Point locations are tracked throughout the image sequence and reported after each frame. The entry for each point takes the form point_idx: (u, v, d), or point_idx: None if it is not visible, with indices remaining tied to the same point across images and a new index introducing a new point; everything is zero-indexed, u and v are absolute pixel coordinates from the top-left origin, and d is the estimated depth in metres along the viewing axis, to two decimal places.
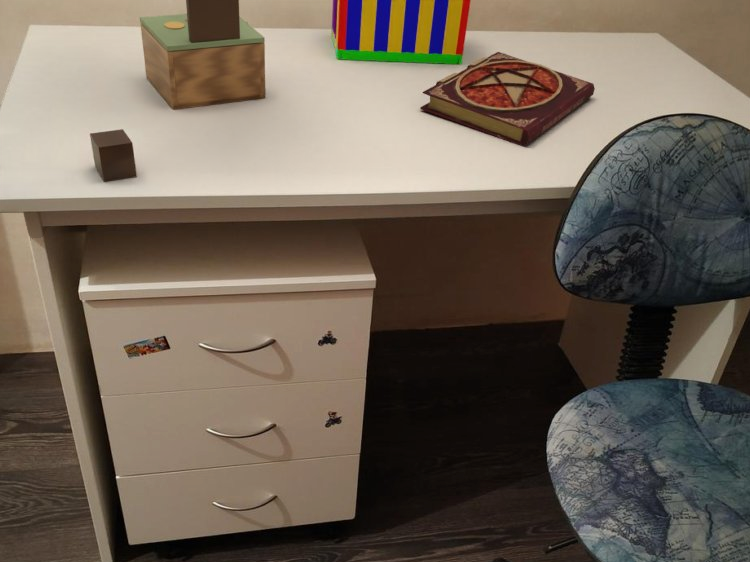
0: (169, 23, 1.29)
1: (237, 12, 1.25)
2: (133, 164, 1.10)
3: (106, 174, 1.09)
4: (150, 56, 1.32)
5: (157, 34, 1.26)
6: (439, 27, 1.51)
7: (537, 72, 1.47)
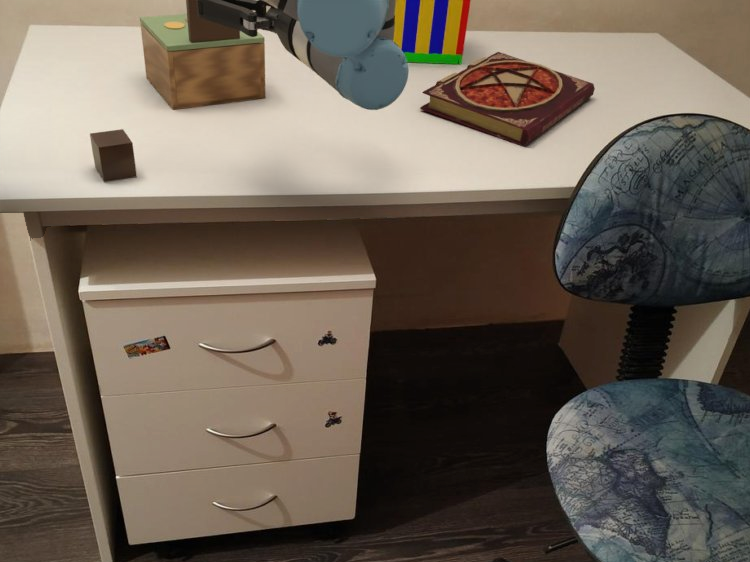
0: (169, 23, 1.29)
1: None
2: (133, 164, 1.10)
3: (106, 174, 1.09)
4: (150, 56, 1.32)
5: (157, 34, 1.26)
6: (439, 27, 1.51)
7: (537, 72, 1.46)
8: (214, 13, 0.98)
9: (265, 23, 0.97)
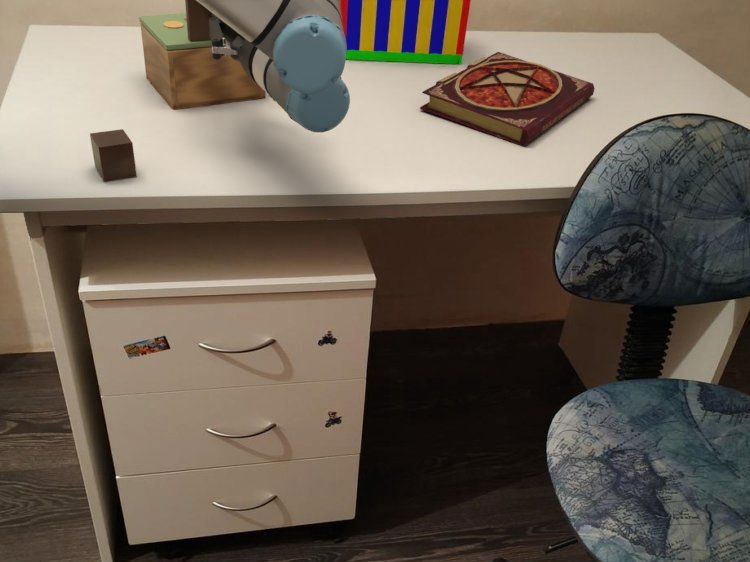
0: (168, 22, 1.30)
1: None
2: (133, 164, 1.10)
3: (106, 174, 1.09)
4: (150, 56, 1.32)
5: (156, 33, 1.26)
6: (439, 27, 1.51)
7: (537, 72, 1.46)
8: (211, 34, 1.15)
9: (226, 50, 1.10)
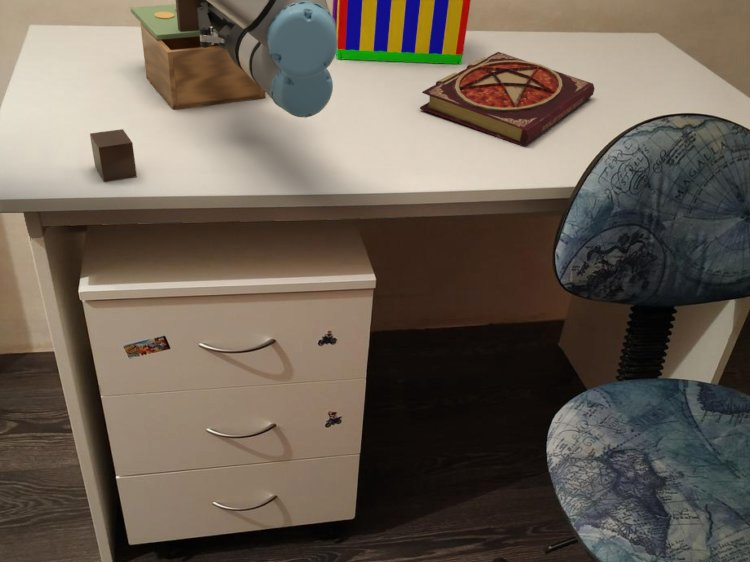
0: (159, 13, 1.33)
1: None
2: (133, 164, 1.10)
3: (106, 174, 1.09)
4: (150, 56, 1.32)
5: (147, 23, 1.29)
6: (439, 27, 1.51)
7: (537, 72, 1.46)
8: (199, 24, 1.18)
9: (214, 38, 1.13)
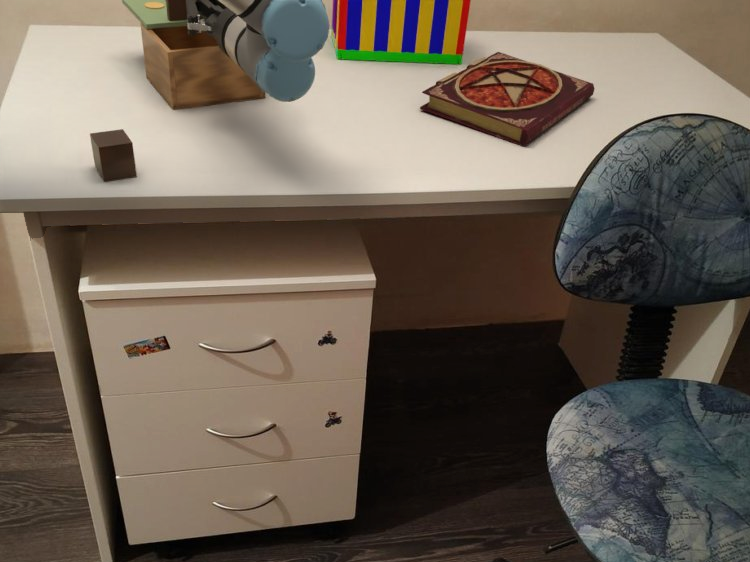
0: (149, 3, 1.36)
1: None
2: (133, 164, 1.10)
3: (106, 174, 1.09)
4: (150, 56, 1.32)
5: (137, 13, 1.32)
6: (439, 27, 1.51)
7: (537, 72, 1.46)
8: (187, 12, 1.21)
9: (201, 26, 1.16)
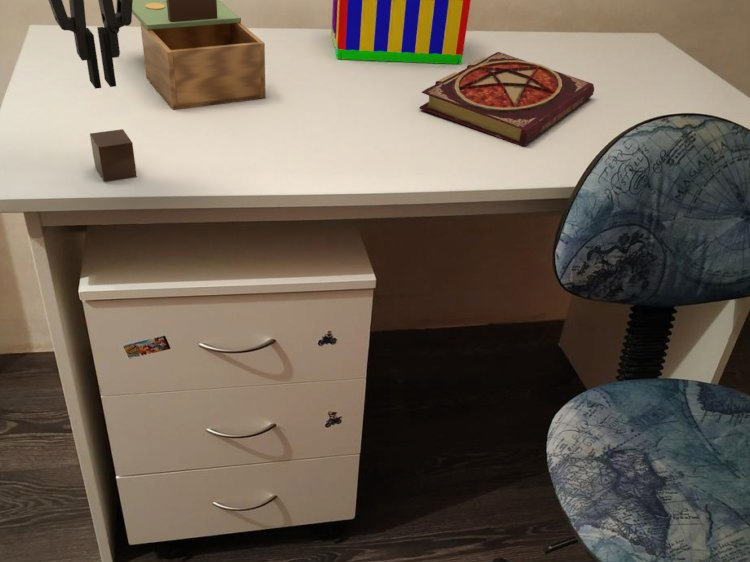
0: (150, 4, 1.36)
1: None
2: (133, 164, 1.10)
3: (106, 174, 1.09)
4: (150, 56, 1.32)
5: (138, 14, 1.32)
6: (439, 27, 1.51)
7: (537, 72, 1.46)
8: (50, 1, 0.95)
9: None
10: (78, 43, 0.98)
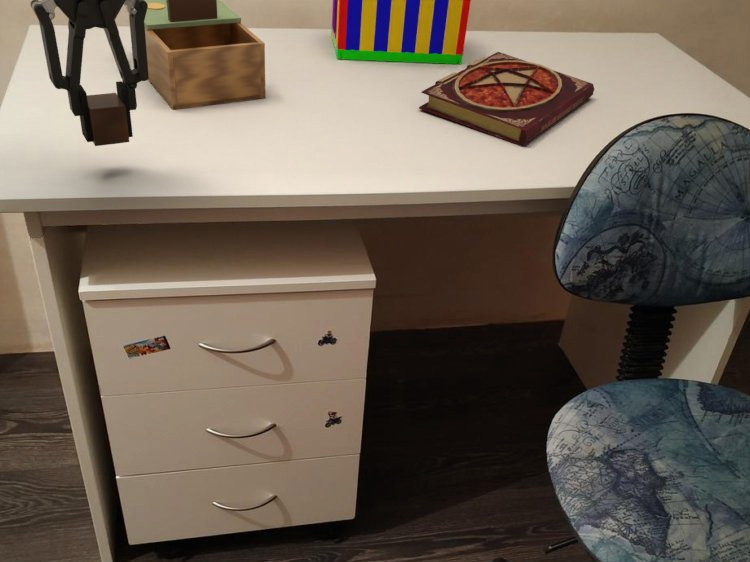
0: (150, 4, 1.36)
1: None
2: (126, 129, 1.06)
3: (98, 138, 1.05)
4: (150, 56, 1.32)
5: None
6: (439, 27, 1.51)
7: (537, 72, 1.46)
8: (47, 60, 0.98)
9: None
10: (71, 100, 1.02)
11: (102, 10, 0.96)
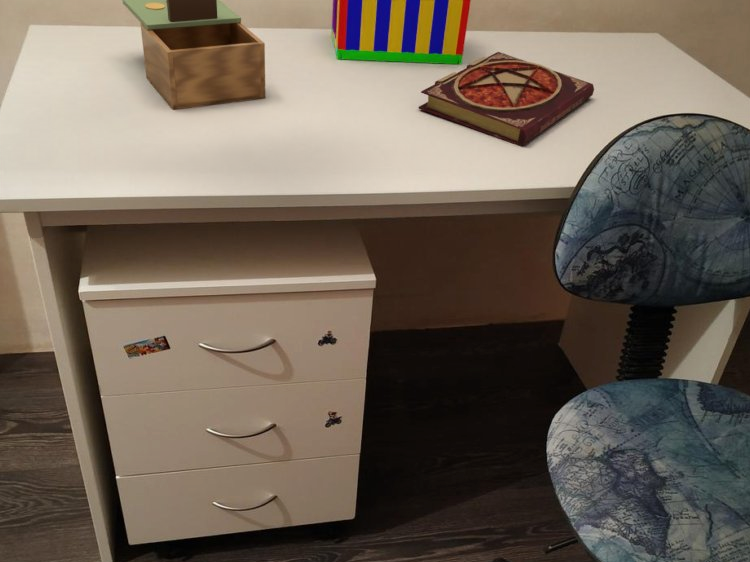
0: (150, 4, 1.36)
1: None
2: None
3: None
4: (150, 56, 1.32)
5: (138, 14, 1.32)
6: (439, 27, 1.51)
7: (536, 72, 1.46)
8: None
9: None
10: None
11: None
